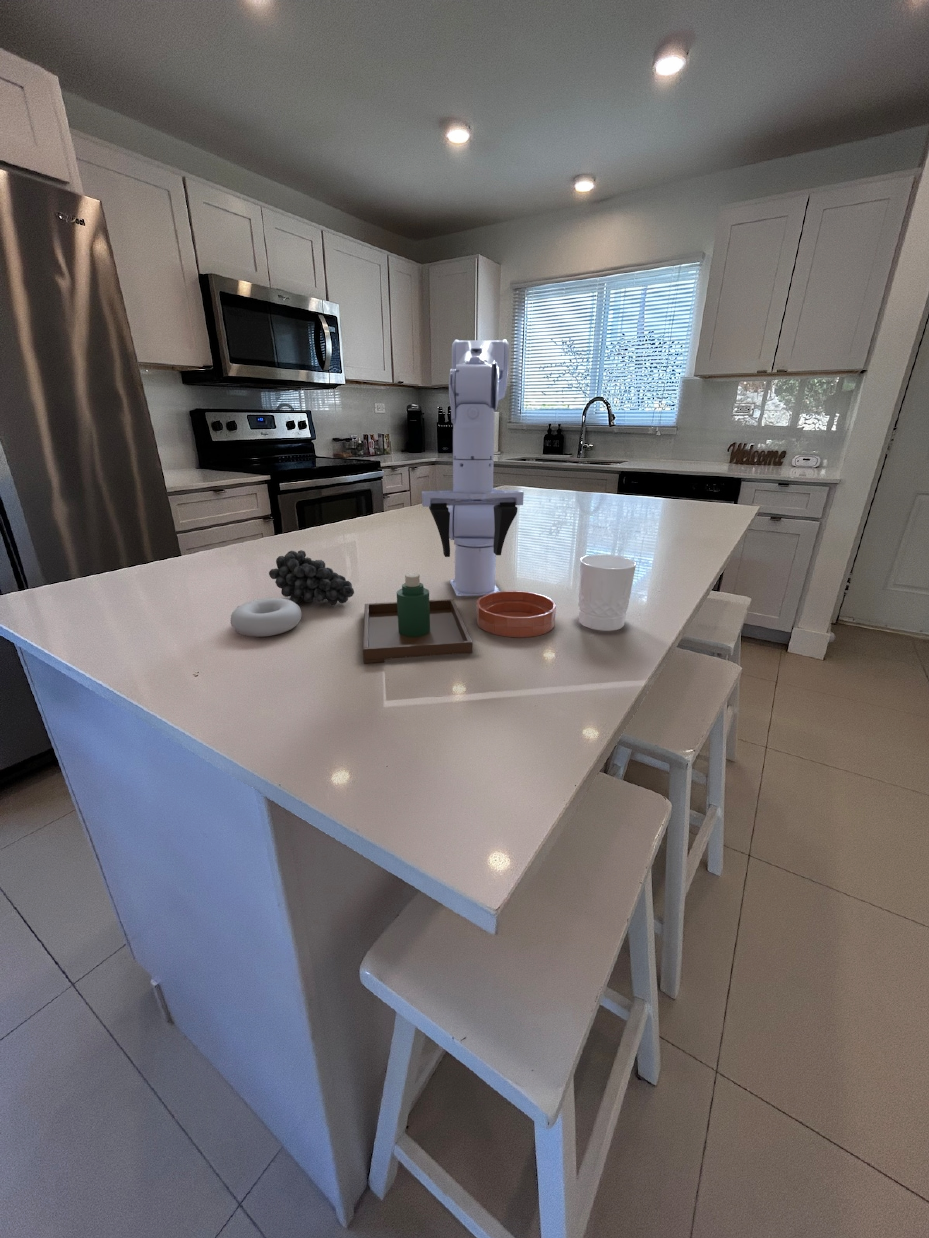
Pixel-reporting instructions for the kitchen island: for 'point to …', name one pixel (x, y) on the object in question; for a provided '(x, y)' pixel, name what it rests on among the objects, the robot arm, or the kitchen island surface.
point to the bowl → (515, 613)
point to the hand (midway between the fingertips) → (472, 554)
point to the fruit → (309, 580)
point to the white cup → (605, 591)
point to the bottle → (413, 607)
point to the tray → (389, 643)
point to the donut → (265, 617)
